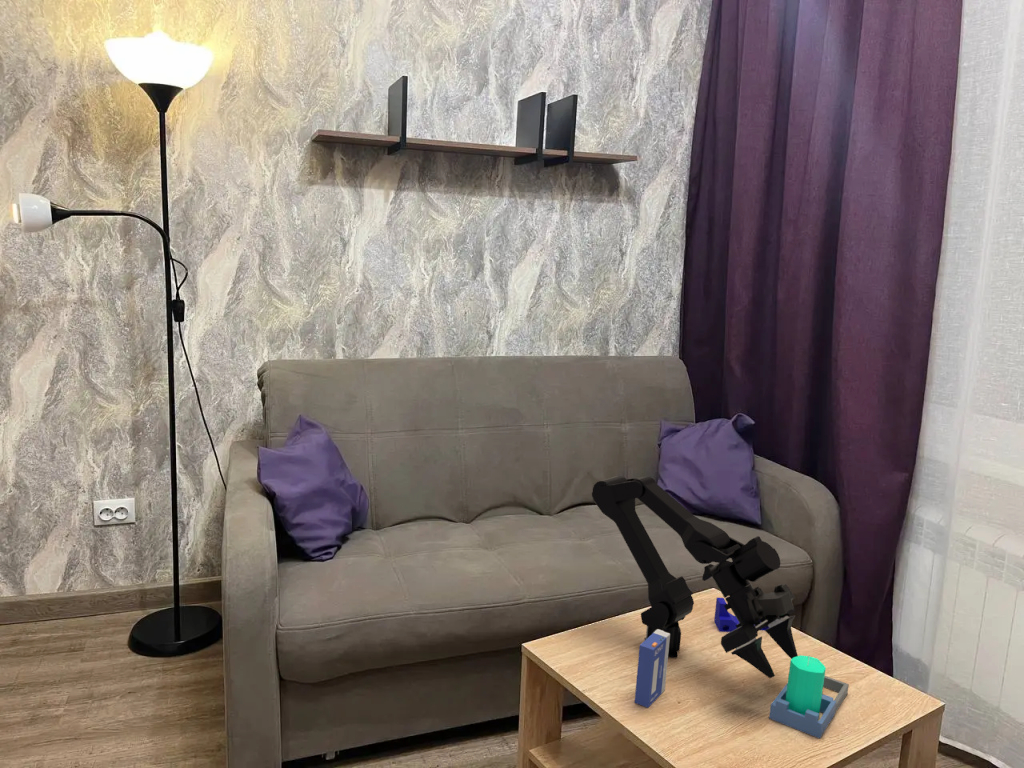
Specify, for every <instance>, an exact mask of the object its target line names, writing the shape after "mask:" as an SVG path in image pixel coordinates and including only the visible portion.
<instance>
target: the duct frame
mask: <svg viewBox="0 0 1024 768" xmlns="http://www.w3.org/2000/svg"><path fill="white" fill-rule="evenodd" d="M787 684H788V682H787V683H786V684H785V685H784V686H783V688H782V689H781V691H780V692H779V693H778V695H776V697H775V699H774V700H773V701H772V702H771V703H770V708H769V716H768V718H769V719H770V720H773V721H774V722H777V723H779V724H783V725H784V726H788V727H789V728H792V729H795V730H797V731H800V732H801V733H805V734H808V735H810V736H812V737H815V738H817V739H821V737H822V736H823V734H824V733H825V731H826V729H827V728H828V726H829V725H828V724H830V723H831V721H832V720H833V718H834V717H835V715H836V713H837V712H836V711H838V710H839V708H840V706H841V705H842V703H843V701H844V700H845V698H846V697H847V695H848V691H849V686H850V685H849V683H846V682H843V681H842V680H838V679H835V678H832V677H829V676H826V675H825V677H824V684H823V688H825V689H829V690H831V691H834V692H837V695H836V697H835V698H834V697H832V696H829V695H827V694H823V693H822V699H821V706H820V713H822V716H821V717H820V713H816V712H814V711H811V710H808V709H807V711H806V712H805V715H803V714H800V713H797V712H795V711H792V710H790V709H788V708H789V702H787V701H785V699H786V691H787ZM818 717H819V718H820V719H819V720H818Z"/></svg>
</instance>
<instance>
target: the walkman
mask: <svg viewBox="0 0 1024 768" xmlns="http://www.w3.org/2000/svg"><path fill="white" fill-rule="evenodd" d="M669 642H670V633H667V632H664V631H662V630H659V629H657V630H656V631H655V632H654V633H653V634H652V635H650V636H649V637H648V638H647V639H646V640H645V639H644V641H643V642H642V643H640V644H639V650H638V659H637V660H638V661H637V671H636V682H635V683H636V684H635V694H634V703H635V704H637V705H640V706H642V707H644V708H647V709H648V708H649V707H650V706H651V705H652V704H654V702H655V701H656V700H657V699H658V698H659V697H660V696H661V695H662V694H663V692H664V691H665V690H666V680H667V671H668V662H669V661H668V659H669V657H668V652H669Z"/></svg>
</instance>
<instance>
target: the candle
mask: <svg viewBox="0 0 1024 768" xmlns="http://www.w3.org/2000/svg"><path fill="white" fill-rule="evenodd" d="M788 669H789V670H788V678H787V683H788V684H787V683H786V684H787V691H786V699H785V701H787V702H789V708H788V709H790V710H792V711H795V712H797V713H800V714H803V715H805V712H806V711H807V709H808V710H811V711H814V712H816V713H819V714H820V713H821V712H820V706H821V699H822V694H823V690H824V689H823V688H824V687H823V684H824V677H825V676H826V670H827V668H826V666H825V665H824V663H823V662H821V661H820V659H819V658H817V657H813V656H810V655H801V654H800V655H798V656H796V657H793V658H792V659H791V658H790V662H789V668H788ZM819 718H820V716H819V717H818V721H819V720H820V719H819Z"/></svg>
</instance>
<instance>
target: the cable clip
mask: <svg viewBox="0 0 1024 768" xmlns="http://www.w3.org/2000/svg"><path fill="white" fill-rule="evenodd" d="M726 604H727V601H726V600H725V598H724V597H716V602H715V608H714V609H715V610H714V611H715V612H714V619H713V621H714V624H715V625H716V628H717V631H718V632H719V633H722V632H723V633H724V632H725V633H729V632H731V631H733V630H735V629H736V628H737V627H736V625H737V624H739V621H738V620H737V618H736V616H735V615H733V614H732V613H731V612H729V611H728V610H726V609H725V607H724V605H726ZM759 621H760V620H759ZM754 626H755V625H754ZM768 628H769V626H767V627H764V628H762V629H761V630H760V631H765V630H767V629H768Z"/></svg>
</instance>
